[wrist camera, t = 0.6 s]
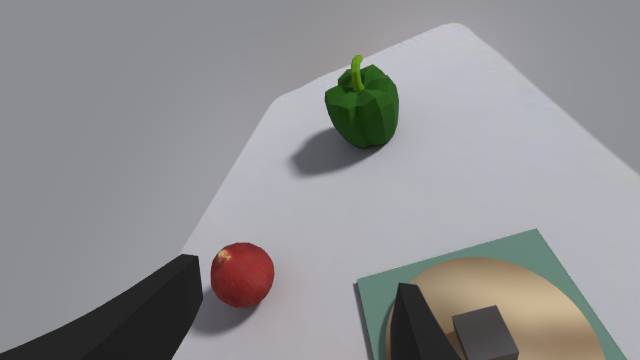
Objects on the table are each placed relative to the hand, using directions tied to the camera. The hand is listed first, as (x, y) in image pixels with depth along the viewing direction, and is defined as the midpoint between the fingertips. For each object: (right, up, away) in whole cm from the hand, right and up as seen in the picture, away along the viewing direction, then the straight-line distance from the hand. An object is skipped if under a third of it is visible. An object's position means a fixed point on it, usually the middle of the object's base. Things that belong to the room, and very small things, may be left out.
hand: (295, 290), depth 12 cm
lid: (+13, -8, +13) cm, 20 cm away
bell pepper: (+8, +10, +32) cm, 35 cm away
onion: (-5, -7, +23) cm, 25 cm away
